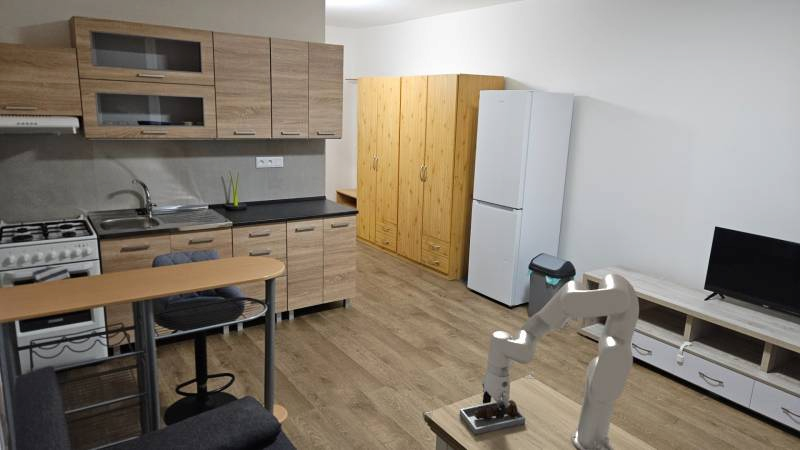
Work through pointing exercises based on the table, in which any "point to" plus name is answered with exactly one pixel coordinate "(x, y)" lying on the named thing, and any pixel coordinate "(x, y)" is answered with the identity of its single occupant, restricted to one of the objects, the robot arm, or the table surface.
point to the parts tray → (489, 425)
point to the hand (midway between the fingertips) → (493, 409)
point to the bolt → (491, 411)
